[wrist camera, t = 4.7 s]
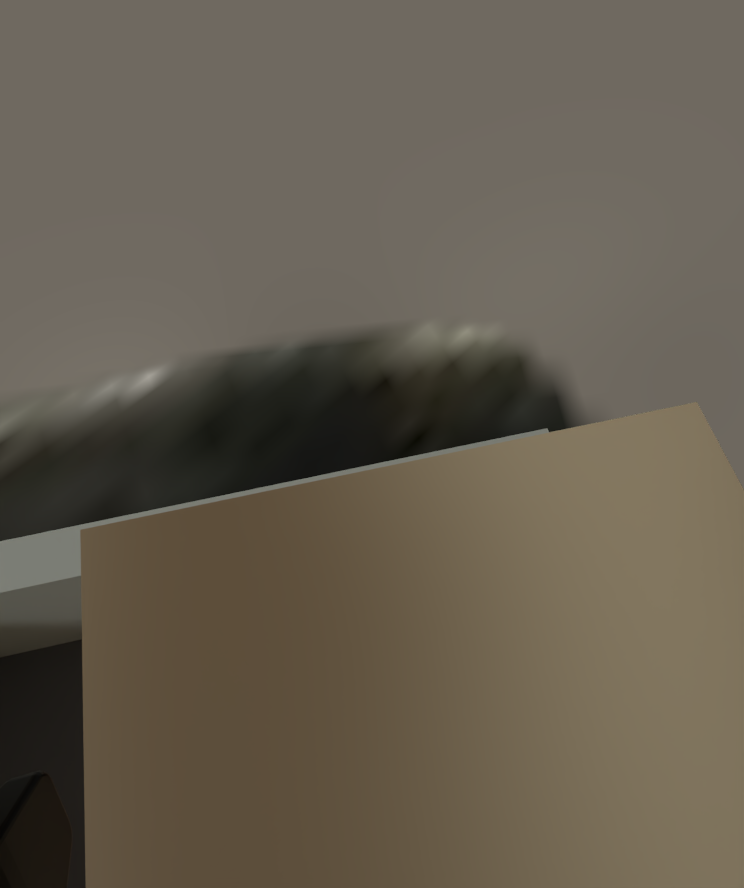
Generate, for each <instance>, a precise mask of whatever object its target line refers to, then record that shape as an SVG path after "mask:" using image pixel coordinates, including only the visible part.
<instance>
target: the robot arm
mask: <svg viewBox="0 0 744 888" xmlns="http://www.w3.org/2000/svg"><path fill="white" fill-rule="evenodd" d="M71 850H72V828H71V824H70V820H69V818H68V815H67V813H66V811H65V808H64V806H63V804H62V802H61V799H60V797H59V795H58V792H57V790H56V788H55V785H54V783H53V781H52V779H51V777H50V776H49V774H48V773H47V772H44V771H41V770H39V771H35V772H32V773H29V774H25V775H22V776H18V777H15V778H12V779H10V780H8V781H6V782H5V783H4V784H3V785H2V786H1V787H0V888H67V885H68V876H69V867H70V859H71Z"/></svg>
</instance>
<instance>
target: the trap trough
mask: <svg viewBox="0 0 744 888" xmlns="http://www.w3.org/2000/svg"><path fill="white" fill-rule="evenodd" d="M544 433H549V431H548V428H547V429H542V430H537V431H532V432H527V433H522V434H517V435H513V436H508V437H503V438H498V439H493V440H488V441H484V442H479V443H474V444H469V445H464V446H459V447H455V448H450V449H445V450H440V451H435V452H430V453H426V454H421V455H416V456H411V457H406V458H401V459H397V460H392V461H387V462H382V463H377V464H372V465H368V466H363V467H358V468H353V469H348V470H343V471H339V472H334V473H329V474H324V475H319V476H314V477H310V478H305V479H300V480H295V481H290V482H285V483H281V484H276V485H271V486H266V487H261V488H256V489H252V490H247V491H242V492H237V493H232V494H227V495H223V496H218V497H213V498H208V499H203V500H198V501H194V502H189V503H184V504H179V505H174V506H169V507H165V508H160V509H155V510H150V511H145V512H140V513H136V514H131V515H126V516H121V517H116V518H111V519H107V520H102V521H97V522H92V523H87V524H82V525H78V526H73V527H68V528H63V529H58V530H53V531H49V532H44V533H39V534H34V535H29V536H24V537H19V538H15V539H10V540H5V541H0V787H1V786H2V785H3V784H4V783H5V782H6V781H8V780H10V779H12V778H15V777H18V776H22V775H25V774H29V773H32V772H35V771H39V770H41V771H44V772H47V773H48V774H49V776H50V777H51V779H52V781H53V783H54V785H55V788H56V790H57V792H58V795H59V797H60V799H61V802H62V804H63V806H64V808H65V811H66V813H67V815H68V818H69V820H70V824H71V828H72V850H71V859H70V867H69V876H68V885H67V888H86V876H85V809H84V743H83V676H82V609H81V543H80V530H82V529H86V528H91V527H96V526H101V525H106V524H110V523H115V522H120V521H125V520H130V519H135V518H139V517H144V516H149V515H154V514H159V513H164V512H168V511H173V510H178V509H183V508H188V507H192V506H197V505H202V504H207V503H212V502H217V501H221V500H226V499H231V498H236V497H241V496H245V495H250V494H255V493H260V492H265V491H270V490H274V489H279V488H284V487H289V486H294V485H299V484H303V483H308V482H313V481H318V480H323V479H327V478H332V477H337V476H342V475H347V474H352V473H356V472H361V471H366V470H371V469H376V468H380V467H385V466H390V465H395V464H400V463H405V462H409V461H414V460H419V459H424V458H429V457H433V456H438V455H443V454H448V453H453V452H458V451H462V450H467V449H472V448H477V447H482V446H487V445H491V444H496V443H501V442H506V441H511V440H515V439H520V438H525V437H530V436H535V435H540V434H544Z"/></svg>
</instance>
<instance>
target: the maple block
mask: <svg viewBox="0 0 744 888" xmlns="http://www.w3.org/2000/svg"><path fill="white" fill-rule="evenodd" d="M80 543H81V609H82V676H83V743H84V809H85V876H86V888H744V489H743V487H742V485H741V484H740V482H739V480H738V478H737V476H736V474H735V472H734V470H733V469H732V467H731V465H730V463H729V461H728V459H727V457H726V455H725V454H724V452H723V450H722V448H721V446H720V445H719V442H718V441H717V439H716V437H715V435H714V433H713V431H712V429H711V428H710V426H709V424H708V422H707V420H706V418H705V416H704V415H703V413H702V411H701V409H700V407H699V405H698V403H697V402H694V403H690V404H685V405H679V406H675V407H670V408H665V409H660V410H655V411H650V412H646V413H641V414H636V415H631V416H626V417H622V418H617V419H612V420H607V421H602V422H597V423H593V424H588V425H583V426H578V427H573V428H568V429H564V430H559V431H554V432H549V433H544V434H540V435H535V436H530V437H525V438H520V439H515V440H511V441H506V442H501V443H496V444H491V445H487V446H482V447H477V448H472V449H467V450H462V451H458V452H453V453H448V454H443V455H438V456H433V457H429V458H424V459H419V460H414V461H409V462H405V463H400V464H395V465H390V466H385V467H380V468H376V469H371V470H366V471H361V472H356V473H352V474H347V475H342V476H337V477H332V478H327V479H323V480H318V481H313V482H308V483H303V484H299V485H294V486H289V487H284V488H279V489H274V490H270V491H265V492H260V493H255V494H250V495H245V496H241V497H236V498H231V499H226V500H221V501H217V502H212V503H207V504H202V505H197V506H192V507H188V508H183V509H178V510H173V511H168V512H164V513H159V514H154V515H149V516H144V517H139V518H135V519H130V520H125V521H120V522H115V523H110V524H106V525H101V526H96V527H91V528H86V529H82V530H80Z"/></svg>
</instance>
